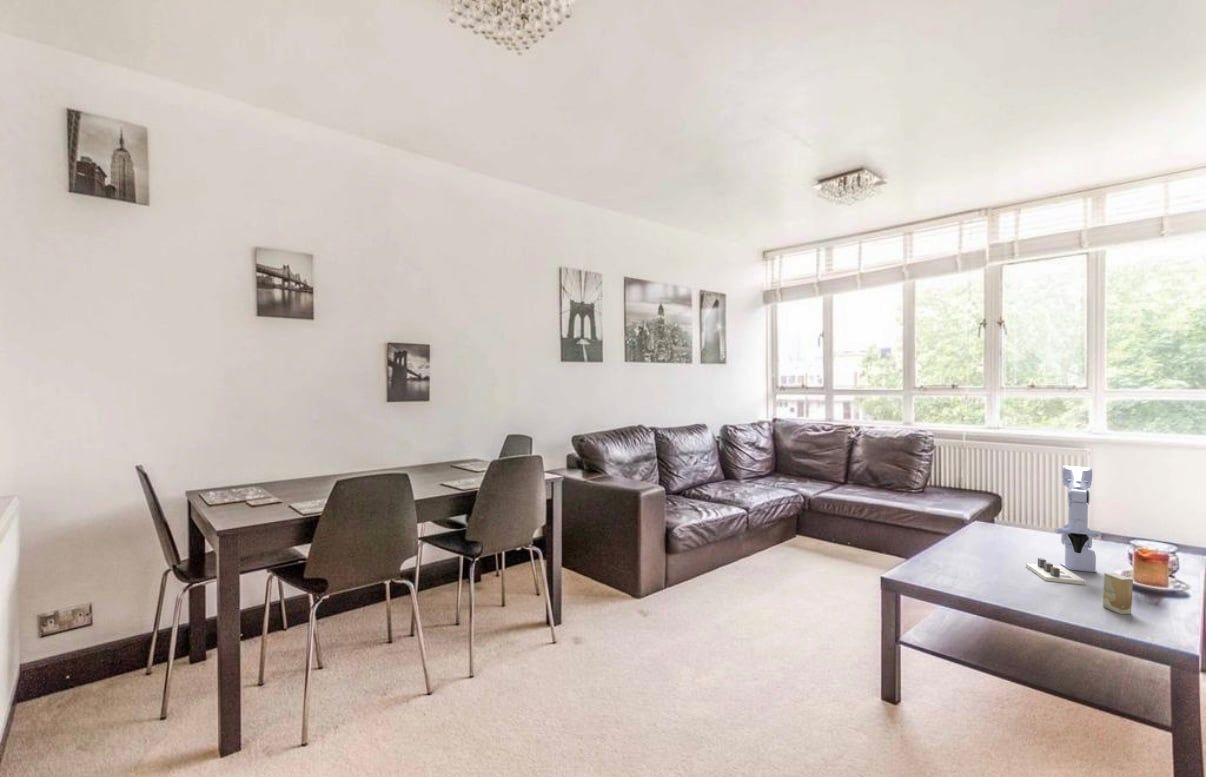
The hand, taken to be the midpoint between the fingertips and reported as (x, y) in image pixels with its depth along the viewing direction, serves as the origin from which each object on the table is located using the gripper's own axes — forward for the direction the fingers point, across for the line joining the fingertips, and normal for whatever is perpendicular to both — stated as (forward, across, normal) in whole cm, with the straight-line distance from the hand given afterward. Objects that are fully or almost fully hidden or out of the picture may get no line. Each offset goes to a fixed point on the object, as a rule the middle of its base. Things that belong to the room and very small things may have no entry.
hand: (1077, 552), depth 217 cm
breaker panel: (+10, -7, +1) cm, 13 cm away
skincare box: (+11, -4, -34) cm, 36 cm away
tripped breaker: (+9, -9, -5) cm, 14 cm away
